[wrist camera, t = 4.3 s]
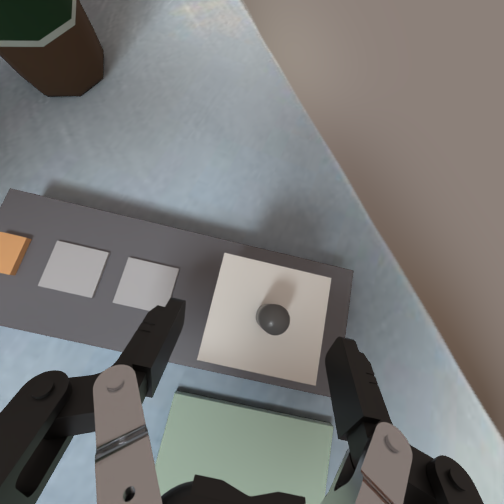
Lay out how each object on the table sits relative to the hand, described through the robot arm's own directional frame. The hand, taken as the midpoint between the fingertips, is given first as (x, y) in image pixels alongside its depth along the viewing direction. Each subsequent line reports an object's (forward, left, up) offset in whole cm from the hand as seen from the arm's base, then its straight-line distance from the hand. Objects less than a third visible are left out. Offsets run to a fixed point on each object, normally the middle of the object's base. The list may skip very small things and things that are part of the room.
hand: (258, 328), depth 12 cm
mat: (+2, -12, -7) cm, 14 cm away
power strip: (-9, +1, -7) cm, 11 cm away
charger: (0, +1, -7) cm, 7 cm away
